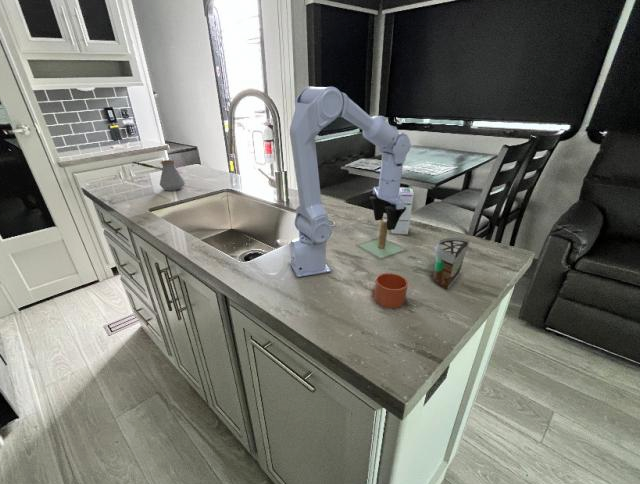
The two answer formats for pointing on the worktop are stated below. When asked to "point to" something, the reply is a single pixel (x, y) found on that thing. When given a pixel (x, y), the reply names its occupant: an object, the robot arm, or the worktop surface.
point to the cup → (390, 290)
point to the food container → (449, 260)
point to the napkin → (381, 253)
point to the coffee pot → (168, 175)
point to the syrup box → (404, 220)
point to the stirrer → (382, 234)
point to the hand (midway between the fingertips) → (384, 224)
